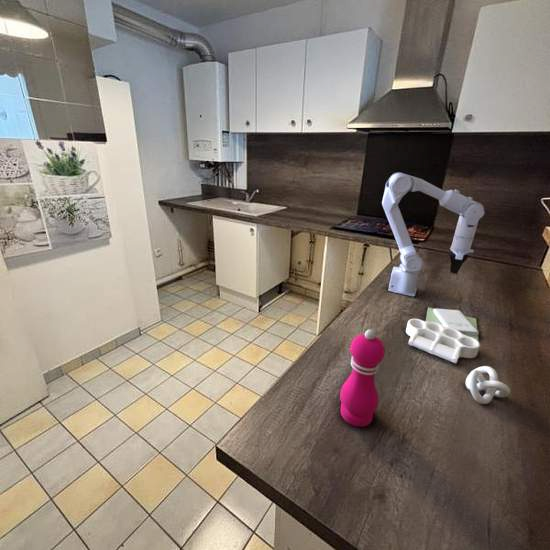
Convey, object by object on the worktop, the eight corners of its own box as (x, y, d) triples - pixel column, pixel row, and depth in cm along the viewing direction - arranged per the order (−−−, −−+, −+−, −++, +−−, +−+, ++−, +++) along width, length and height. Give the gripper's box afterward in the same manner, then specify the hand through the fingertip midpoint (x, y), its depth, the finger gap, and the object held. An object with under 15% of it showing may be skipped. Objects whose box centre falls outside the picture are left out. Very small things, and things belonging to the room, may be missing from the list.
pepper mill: (333, 400, 62) (344, 319, 54) (366, 398, 62) (381, 318, 55) (344, 430, 55) (357, 343, 47) (380, 428, 56) (400, 342, 48)
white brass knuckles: (395, 342, 81) (412, 322, 91) (469, 373, 70) (479, 346, 80) (397, 332, 80) (414, 312, 90) (473, 362, 69) (483, 336, 79)
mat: (424, 326, 89) (424, 326, 89) (428, 307, 100) (428, 307, 100) (478, 341, 83) (478, 340, 83) (475, 319, 94) (476, 318, 94)
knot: (486, 414, 59) (495, 393, 57) (450, 387, 66) (457, 367, 64) (509, 403, 62) (518, 382, 60) (472, 378, 69) (480, 358, 66)
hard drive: (459, 314, 96) (477, 336, 84) (432, 312, 97) (447, 333, 85) (460, 310, 95) (479, 331, 84) (434, 308, 96) (449, 328, 85)
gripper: (478, 243, 93) (466, 282, 98) (476, 233, 104) (466, 268, 110) (453, 239, 96) (443, 277, 101) (454, 230, 108) (445, 265, 113)
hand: (453, 272), depth 106 cm, fingers closed
